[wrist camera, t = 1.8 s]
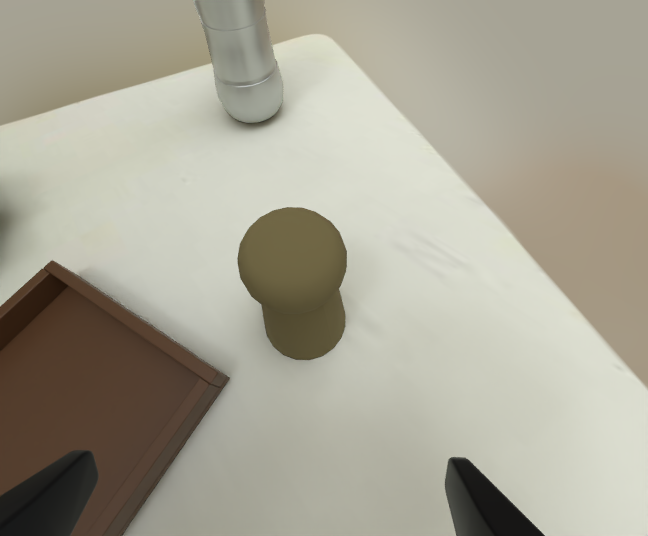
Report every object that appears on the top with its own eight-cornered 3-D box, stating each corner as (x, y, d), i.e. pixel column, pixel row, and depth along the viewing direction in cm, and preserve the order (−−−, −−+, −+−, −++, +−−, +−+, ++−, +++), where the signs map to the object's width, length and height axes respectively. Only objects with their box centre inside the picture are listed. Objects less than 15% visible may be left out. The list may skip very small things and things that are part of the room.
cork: (253, 300, 24) (202, 214, 14) (324, 270, 25) (322, 171, 16) (282, 375, 22) (245, 332, 12) (360, 338, 23) (384, 270, 13)
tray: (34, 661, 16) (-17, 702, 13) (-129, 472, 19) (-191, 478, 17) (230, 378, 22) (218, 372, 19) (76, 274, 25) (51, 259, 23)
